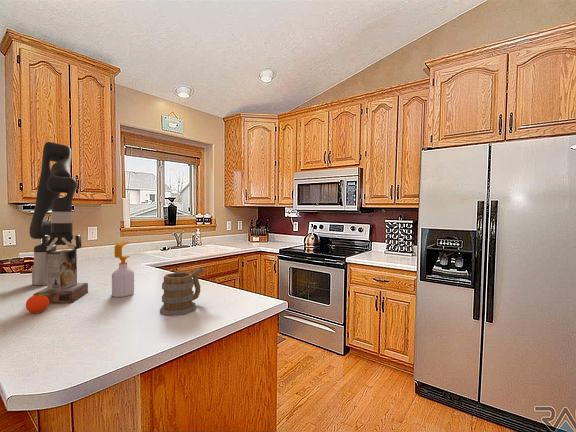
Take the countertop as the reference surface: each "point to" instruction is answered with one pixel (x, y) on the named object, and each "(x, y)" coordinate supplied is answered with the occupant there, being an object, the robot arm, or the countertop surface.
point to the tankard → (180, 292)
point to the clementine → (37, 303)
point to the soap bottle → (122, 275)
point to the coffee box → (61, 270)
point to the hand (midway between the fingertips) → (61, 258)
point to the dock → (65, 294)
